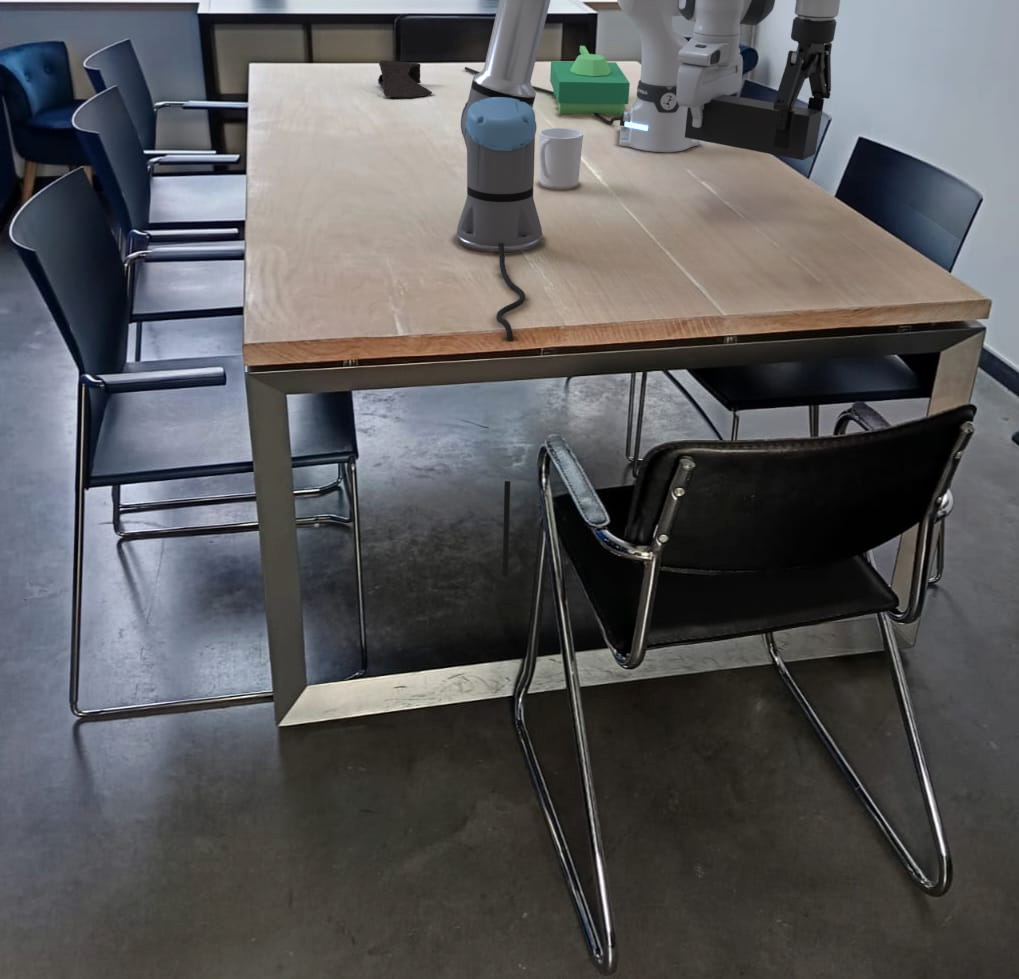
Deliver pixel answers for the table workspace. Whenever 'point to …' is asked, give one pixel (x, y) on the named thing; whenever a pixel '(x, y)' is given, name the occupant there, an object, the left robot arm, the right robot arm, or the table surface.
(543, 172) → the mug
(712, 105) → the bar
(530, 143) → the left robot arm
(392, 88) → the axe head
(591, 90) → the toy tank
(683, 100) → the right robot arm
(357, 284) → the table surface
